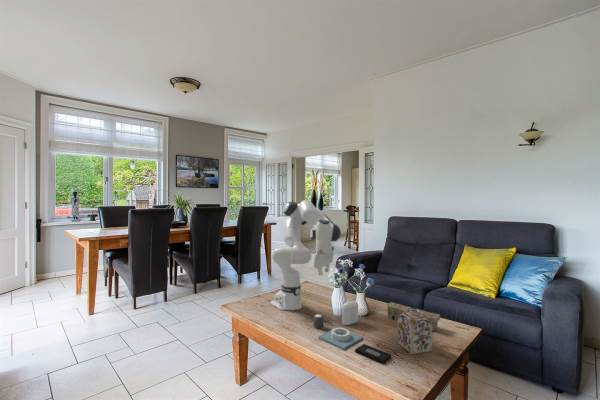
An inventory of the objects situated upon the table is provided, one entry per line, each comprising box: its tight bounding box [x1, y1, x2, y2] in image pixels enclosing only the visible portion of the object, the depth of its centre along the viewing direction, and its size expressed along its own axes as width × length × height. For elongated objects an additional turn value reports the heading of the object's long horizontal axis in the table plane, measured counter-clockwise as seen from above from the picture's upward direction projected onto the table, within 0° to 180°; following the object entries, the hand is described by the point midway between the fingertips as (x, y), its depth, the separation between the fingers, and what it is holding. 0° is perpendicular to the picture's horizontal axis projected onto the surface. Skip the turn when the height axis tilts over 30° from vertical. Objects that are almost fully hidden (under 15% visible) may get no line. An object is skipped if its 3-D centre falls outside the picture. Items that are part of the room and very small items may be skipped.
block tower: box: [386, 301, 441, 332], centre depth 172 cm, size 8×8×29 cm
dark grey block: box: [313, 314, 324, 330], centre depth 166 cm, size 5×5×6 cm
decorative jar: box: [396, 308, 433, 355], centre depth 144 cm, size 12×12×18 cm
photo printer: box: [341, 300, 359, 326], centre depth 171 cm, size 10×4×12 cm, turn 123°
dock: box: [318, 326, 364, 351], centre depth 152 cm, size 16×16×4 cm
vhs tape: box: [354, 343, 392, 365], centre depth 137 cm, size 8×14×2 cm, turn 46°
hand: (323, 273), depth 169 cm, fingers open, 8 cm apart
